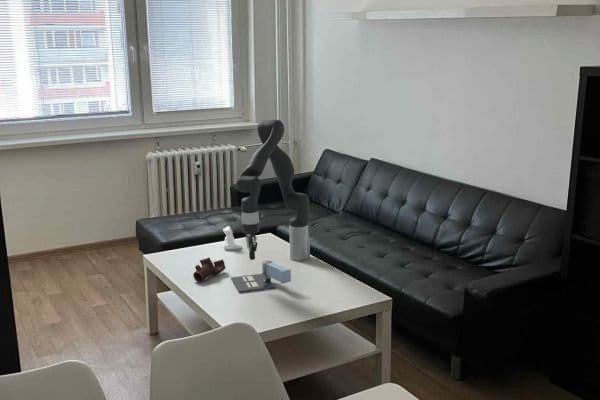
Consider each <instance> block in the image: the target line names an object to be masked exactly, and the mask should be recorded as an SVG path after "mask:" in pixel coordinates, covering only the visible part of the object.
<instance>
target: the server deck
mask: <svg viewBox="0 0 600 400" xmlns="http://www.w3.org/2000/svg"><path fill="white" fill-rule="evenodd" d="M230 280H231V282H232V284H233V285H234V288H236V290H237V292H238V293H239V294H244V293H250V292H251V291H252V292H258V291H267V290H266V289H268V290H274V289H276V287H275V284H274V283H273V282H272V281H271V280H272V278H271V277H269V276H267V275H263V273H257V274H249V275H240V276H232V277H230ZM252 292H251V293H252Z"/></svg>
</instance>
